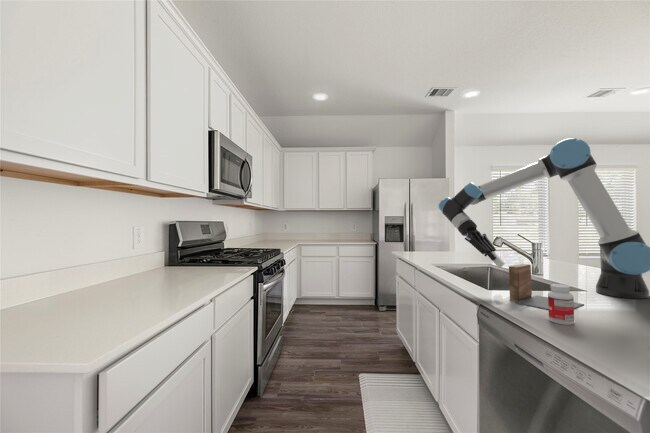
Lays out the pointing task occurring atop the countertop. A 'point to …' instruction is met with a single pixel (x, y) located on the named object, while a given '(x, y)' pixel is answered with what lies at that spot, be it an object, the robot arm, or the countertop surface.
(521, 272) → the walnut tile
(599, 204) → the robot arm
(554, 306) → the pill bottle
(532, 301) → the dark grey rubber mat
